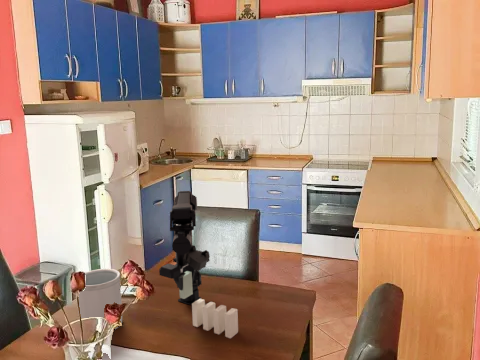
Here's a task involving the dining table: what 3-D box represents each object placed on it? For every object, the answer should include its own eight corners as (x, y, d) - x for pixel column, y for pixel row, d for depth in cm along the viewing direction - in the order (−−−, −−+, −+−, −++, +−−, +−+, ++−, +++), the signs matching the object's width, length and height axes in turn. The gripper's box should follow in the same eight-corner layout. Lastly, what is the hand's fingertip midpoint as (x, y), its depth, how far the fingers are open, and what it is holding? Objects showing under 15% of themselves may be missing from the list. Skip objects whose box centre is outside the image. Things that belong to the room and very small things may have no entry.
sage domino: (179, 297, 147) (178, 275, 145) (188, 292, 150) (187, 270, 149) (184, 299, 146) (183, 276, 144) (192, 294, 149) (191, 272, 148)
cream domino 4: (225, 336, 140) (224, 313, 139) (233, 330, 144) (232, 307, 142) (230, 338, 139) (229, 315, 137) (238, 332, 142) (237, 309, 141)
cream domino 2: (203, 329, 145) (202, 306, 144) (211, 323, 149) (210, 301, 147) (208, 330, 144) (207, 308, 142) (216, 325, 147) (215, 302, 146)
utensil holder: (70, 326, 149) (65, 278, 146) (107, 310, 160) (104, 264, 157) (94, 341, 139) (89, 289, 136) (132, 322, 151) (129, 274, 147)
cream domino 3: (214, 332, 142) (213, 310, 141) (222, 326, 146) (221, 304, 145) (219, 334, 141) (218, 311, 140) (226, 328, 145) (226, 306, 144)
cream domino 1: (192, 325, 147) (191, 303, 146) (201, 320, 151) (200, 298, 150) (197, 327, 146) (196, 304, 145) (205, 321, 150) (204, 299, 148)
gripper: (183, 257, 132) (185, 304, 135) (219, 239, 147) (221, 282, 151) (156, 250, 139) (159, 296, 142) (194, 234, 154) (196, 275, 157)
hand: (185, 287), depth 147 cm, fingers closed on sage domino, 4 cm apart
